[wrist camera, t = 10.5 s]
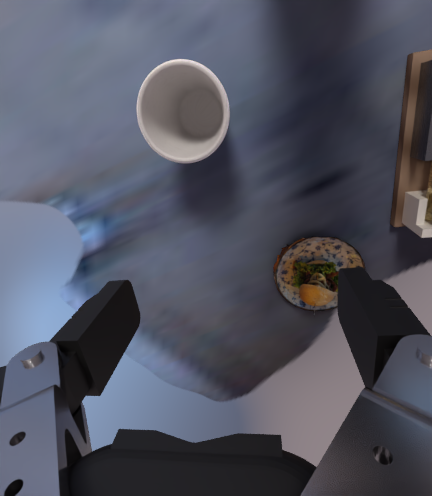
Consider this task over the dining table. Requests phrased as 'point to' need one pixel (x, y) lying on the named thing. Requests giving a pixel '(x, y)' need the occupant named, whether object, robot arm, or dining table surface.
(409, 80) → the base board
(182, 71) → the dixie cup
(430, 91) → the outer sleeve
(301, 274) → the burger
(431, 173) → the dark grey block
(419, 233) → the far socket
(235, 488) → the robot arm
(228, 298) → the dining table surface
